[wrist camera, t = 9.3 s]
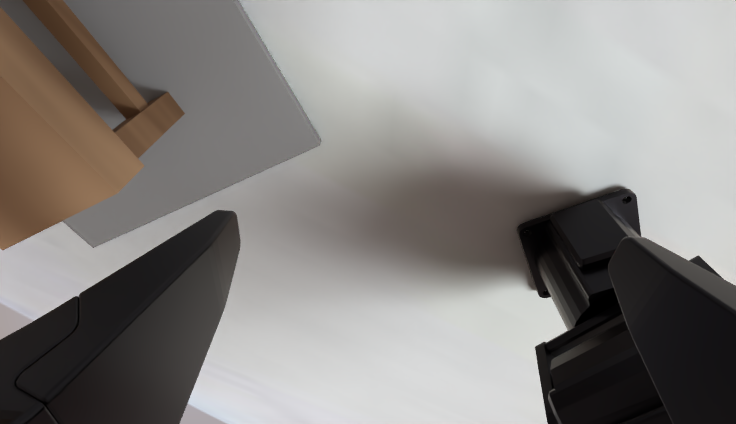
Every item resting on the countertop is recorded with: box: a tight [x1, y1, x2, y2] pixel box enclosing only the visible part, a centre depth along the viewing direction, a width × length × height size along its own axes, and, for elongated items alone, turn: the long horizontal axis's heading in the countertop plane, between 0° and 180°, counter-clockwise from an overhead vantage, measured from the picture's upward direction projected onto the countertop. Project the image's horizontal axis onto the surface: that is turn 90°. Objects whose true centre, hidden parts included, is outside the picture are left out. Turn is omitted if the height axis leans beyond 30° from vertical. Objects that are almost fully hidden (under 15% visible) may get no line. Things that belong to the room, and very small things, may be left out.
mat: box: [0, 0, 321, 248], centre depth 18 cm, size 18×16×1 cm
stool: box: [0, 0, 185, 250], centre depth 15 cm, size 6×10×7 cm, turn 26°
